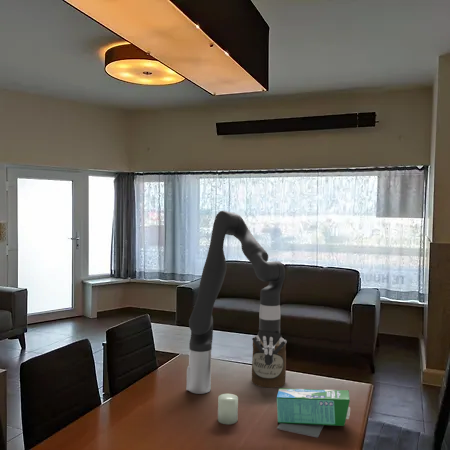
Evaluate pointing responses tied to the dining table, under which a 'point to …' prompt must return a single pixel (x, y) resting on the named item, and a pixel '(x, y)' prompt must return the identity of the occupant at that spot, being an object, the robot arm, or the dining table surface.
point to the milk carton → (313, 406)
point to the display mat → (302, 428)
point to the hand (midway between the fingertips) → (269, 364)
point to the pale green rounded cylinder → (227, 408)
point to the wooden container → (269, 368)
